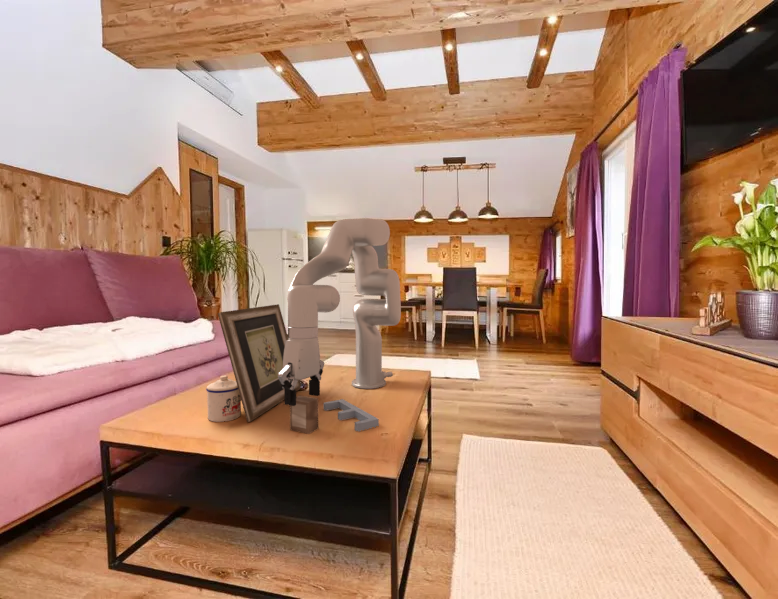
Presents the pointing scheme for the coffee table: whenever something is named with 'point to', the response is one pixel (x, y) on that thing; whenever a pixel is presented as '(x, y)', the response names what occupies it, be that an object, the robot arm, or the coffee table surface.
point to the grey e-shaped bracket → (352, 414)
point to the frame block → (304, 415)
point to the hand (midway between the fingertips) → (302, 399)
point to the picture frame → (256, 355)
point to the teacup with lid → (223, 400)
